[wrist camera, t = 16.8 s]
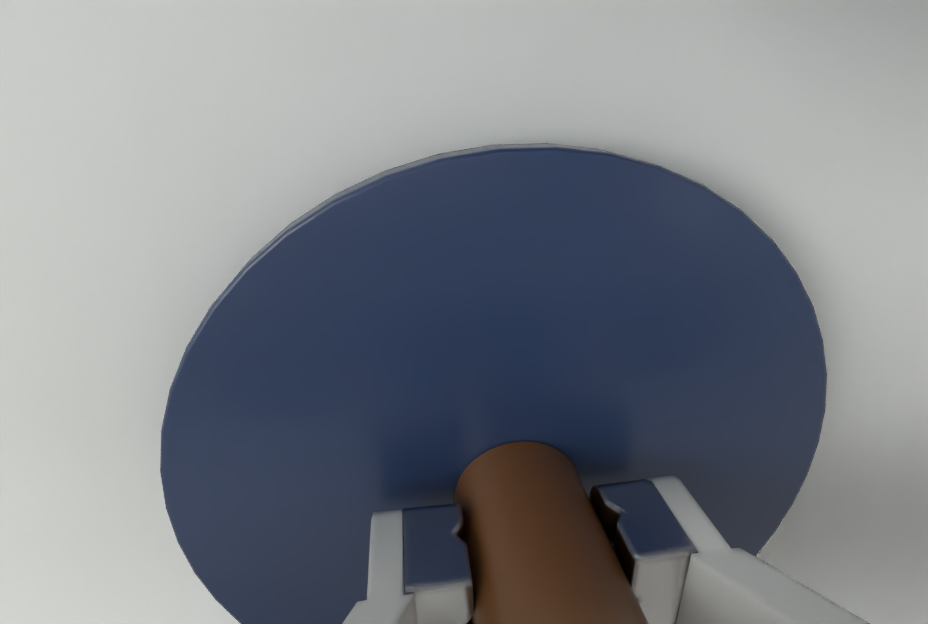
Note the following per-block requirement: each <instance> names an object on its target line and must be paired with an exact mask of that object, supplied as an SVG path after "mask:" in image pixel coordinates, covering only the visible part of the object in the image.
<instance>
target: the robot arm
mask: <svg viewBox="0 0 928 624" xmlns="http://www.w3.org/2000/svg"><path fill="white" fill-rule="evenodd" d="M589 499H590V501H591V504H592V506H593V508H594V510H595V512H596V514H597V516H598V518H599V520H600V522H601V525H602V527H603V529H604V531H605V533H606V535H607V537H608V539H609V541H610V544H611V546H612V548H613V550H614V552H615V554H616V556H617V558H618V560H619V562H620V565H621V567H622V569H623V571H624V573H625V575H626V577H627V579H628V581H629V583H630V586H631V588H632V590H633V592H634V594H635V596H636V598H637V600H638V602H639V604H640V607H641V609H642V611H643V613H644V615H645V617H646V619H647V621H648V623H649V624H869V623H868V622H866V621H864V620H863V619H861V618H859V617H857V616H856V615H854V614H852V613H851V612H849V611H847V610H845V609H844V608H842V607H840V606H839V605H837V604H835V603H834V602H832V601H830V600H828V599H827V598H825V597H823V596H822V595H820V594H818V593H816V592H815V591H813V590H811V589H810V588H808V587H806V586H805V585H803V584H801V583H799V582H798V581H796V580H794V579H793V578H791V577H789V576H787V575H786V574H784V573H782V572H781V571H779V570H777V569H776V568H774V567H772V566H770V565H769V564H767V563H765V562H764V561H762V560H760V559H758V558H757V557H755V556H753V555H752V554H750V553H748V552H747V551H745V550H743V549H741V548H731V547H730V546H729V545H728V543H727V542H726V541H725V539H724V538H723V537H722V535H721V534H720V533H719V531H718V530H717V529H716V527H715V526H714V525H713V523H712V522H711V521H710V519H709V518H708V517H707V515H706V514H705V513H704V511H703V510H702V508H701V507H700V506H699V504H698V503H697V502H696V500H695V499H694V498H693V496H692V495H691V494H690V492H689V491H688V490H687V488H686V487H685V486H684V484H683V483H682V482H681V480H680V479H679V478H677V477H676V476H674V475H670V476H663V477H655V478H648V479H646V480H645V479H640V480H633V481H625V482H618V483H610V484H603V485H596V486H592V489H591V491H590V496H589ZM473 615H474V602H473V584H472V577H471V570H470V563H469V557H468V550H467V544H466V543H465V542H464V531H463V518H462V512H461V507H460V503H454V504H443V505H433V506H423V507H413V508H403V509H399V510H389V511H378V512H373V515H372V519H371V532H370V551H369V569H368V587H367V600H363V601H357V603H356V604H355V606H354V607H353V609H352V610H351V611H350V613H349V614H348V616H347V617H346V619H345V620H344V622H343V623H342V624H472V619H471V618H472V616H473Z"/></svg>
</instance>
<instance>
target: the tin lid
mask: <svg viewBox="0 0 928 624" xmlns="http://www.w3.org/2000/svg"><path fill="white" fill-rule="evenodd" d="M826 383H827V372H826V363H825V354H824V345H823V339H822V335H821V332H820V329H819V325H818V322H817V318H816V315H815V311H814V308H813V305H812V303H811V301H810V299H809V297H808V295H807V293H806V291H805V289H804V287H803V285H802V283H801V281H800V279H799V277H798V275H797V273H796V271H795V270H794V268H793V267H792V266H791V264H790V263H789V262H788V260H787V259H786V258H785V256H784V255H783V254H782V252H781V251H780V249H779V248H778V247H777V245H776V244H775V243H774V241H773V240H772V239H771V238H770V237H769V236H768V235H767V234H766V233H765V232H764V231H763V230H762V229H761V228H759V227H758V226H757V225H756V224H755V223H754V222H753V221H752V220H751V219H750V218H749V217H748V216H747V215H746V214H745V213H744V212H742V211H741V210H740V209H738V208H737V207H735V206H734V205H732V204H731V203H729V202H728V201H726V200H725V199H723V198H722V197H720V196H719V195H717V194H716V193H714V192H713V191H711V190H710V189H708V188H707V187H705V186H703V185H701V184H699V183H697V182H695V181H692V180H690V179H688V178H686V177H683V176H681V175H679V174H677V173H674V172H672V171H670V170H668V169H665V168H663V167H661V166H658V165H655V164H651V163H648V162H644V161H640V160H637V159H633V158H629V157H626V156H622V155H618V154H614V153H611V152H607V151H603V150H599V149H592V148H584V147H575V146H566V145H557V144H549V143H540V144H504V145H489V146H483V147H477V148H471V149H465V150H459V151H453V152H447V153H442V154H437V155H434V156H431V157H427V158H424V159H421V160H418V161H415V162H411V163H408V164H405V165H402V166H399V167H395V168H392V169H389V170H386V171H384V172H382V173H379V174H377V175H375V176H373V177H371V178H369V179H367V180H365V181H362V182H360V183H358V184H356V185H354V186H352V187H350V188H348V189H345V190H343V191H341V192H339V193H337V194H335V195H334V196H332V197H331V198H329V199H327V200H326V201H324V202H323V203H321V204H320V205H318V206H317V207H315V208H314V209H312V210H311V211H309V212H308V213H306V214H304V215H303V216H301V217H300V218H298V219H297V220H295V221H294V222H292V223H291V224H290V225H288V226H287V227H286V228H285V229H284V230H283V231H282V232H281V233H279V234H278V235H277V236H276V237H275V238H274V239H273V240H271V241H270V242H269V243H268V244H267V245H266V246H265V247H263V248H262V249H261V250H260V251H259V252H258V253H257V254H256V255H254V256H253V257H252V258H251V259H250V261H249V262H248V263H247V264H246V265H245V267H244V268H243V269H242V270H241V271H240V272H239V274H238V275H237V276H236V277H235V278H234V280H233V281H232V282H231V283H230V284H229V286H228V287H227V288H226V289H225V290H224V291H223V293H222V294H221V295H220V296H219V297H218V299H217V300H216V301H215V302H214V303H213V305H212V306H211V307H210V309H209V311H208V312H207V314H206V316H205V317H204V319H203V321H202V322H201V324H200V326H199V327H198V329H197V330H196V332H195V334H194V335H193V337H192V339H191V340H190V342H189V344H188V345H187V347H186V349H185V352H184V355H183V357H182V360H181V362H180V365H179V367H178V370H177V372H176V375H175V377H174V380H173V382H172V385H171V387H170V391H169V396H168V400H167V405H166V410H165V415H164V420H163V425H162V430H161V466H160V471H161V478H162V484H163V491H164V497H165V504H166V509H167V512H168V515H169V518H170V521H171V524H172V527H173V529H174V532H175V535H176V538H177V541H178V543H179V545H180V547H181V549H182V551H183V552H184V554H185V556H186V558H187V560H188V562H189V563H190V565H191V567H192V569H193V571H194V572H195V574H196V575H197V576H198V578H199V579H200V580H201V582H202V583H203V584H204V585H205V587H206V588H207V589H208V591H209V592H210V593H211V594H212V596H213V597H214V598H215V600H216V601H218V602H219V603H220V604H221V605H222V606H223V607H224V608H225V609H226V610H227V611H228V612H229V613H230V614H231V615H232V616H233V617H234V618H235V619H236V620H237V621H238V622H240V623H241V624H342V623H343V622H344V620H345V619H346V617H347V616H348V614H349V613H350V611H351V610H352V609H353V607H354V606H355V604H356V603H357V601H363V600H367V587H368V569H369V551H370V532H371V519H372V515H373V512H378V511H389V510H399V509H403V508H413V507H423V506H433V505H443V504H454V503H460V507H461V512H462V518H463V531H464V542H465V543H466V544H467V550H468V557H469V563H470V570H471V577H472V584H473V602H474V615H473V616H472V618H471V619H472V624H649V623H648V621H647V619H646V617H645V615H644V613H643V611H642V609H641V607H640V604H639V602H638V600H637V598H636V596H635V594H634V592H633V590H632V588H631V586H630V583H629V581H628V579H627V577H626V575H625V573H624V571H623V569H622V567H621V565H620V562H619V560H618V558H617V556H616V554H615V552H614V550H613V548H612V546H611V544H610V541H609V539H608V537H607V535H606V533H605V531H604V529H603V527H602V525H601V522H600V520H599V518H598V516H597V514H596V512H595V510H594V508H593V506H592V504H591V501H590V499H589V496H590V491H591V489H592V486H596V485H603V484H610V483H618V482H625V481H633V480H640V479H645V480H646V479H648V478H655V477H663V476H670V475H674V476H676V477H677V478H679V479H680V480H681V482H682V483H683V484H684V486H685V487H686V488H687V490H688V491H689V492H690V494H691V495H692V496H693V498H694V499H695V500H696V502H697V503H698V504H699V506H700V507H701V508H702V510H703V511H704V513H705V514H706V515H707V517H708V518H709V519H710V521H711V522H712V523H713V525H714V526H715V527H716V529H717V530H718V531H719V533H720V534H721V535H722V537H723V538H724V539H725V541H726V542H727V543H728V545H729V546H730V547H731V548H741V549H743V550H745V551H747V552H748V553H750V554H752V555H753V556H756V555H757V553H758V552H759V551H760V550H761V548H762V547H763V546H764V545H765V543H766V542H767V541H768V540H769V538H770V537H771V536H772V535H773V533H774V532H775V531H776V529H777V528H778V526H779V525H780V523H781V521H782V520H783V518H784V517H785V515H786V514H787V512H788V511H789V509H790V507H791V506H792V504H793V503H794V501H795V499H796V497H797V494H798V492H799V490H800V488H801V486H802V484H803V482H804V480H805V478H806V476H807V474H808V472H809V469H810V466H811V463H812V460H813V457H814V454H815V451H816V448H817V445H818V443H819V438H820V433H821V428H822V423H823V418H824V413H825V404H826Z"/></svg>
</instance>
